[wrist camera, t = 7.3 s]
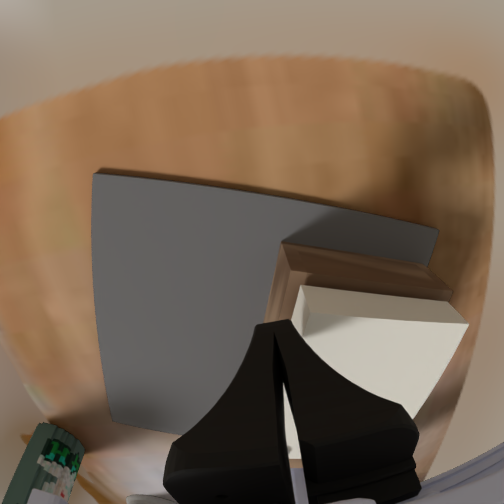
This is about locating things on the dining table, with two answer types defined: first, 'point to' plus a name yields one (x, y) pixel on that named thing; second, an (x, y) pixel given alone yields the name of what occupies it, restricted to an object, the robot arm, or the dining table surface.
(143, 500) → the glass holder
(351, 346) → the lid
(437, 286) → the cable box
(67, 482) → the can
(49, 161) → the dining table surface
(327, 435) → the robot arm
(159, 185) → the desk mat
